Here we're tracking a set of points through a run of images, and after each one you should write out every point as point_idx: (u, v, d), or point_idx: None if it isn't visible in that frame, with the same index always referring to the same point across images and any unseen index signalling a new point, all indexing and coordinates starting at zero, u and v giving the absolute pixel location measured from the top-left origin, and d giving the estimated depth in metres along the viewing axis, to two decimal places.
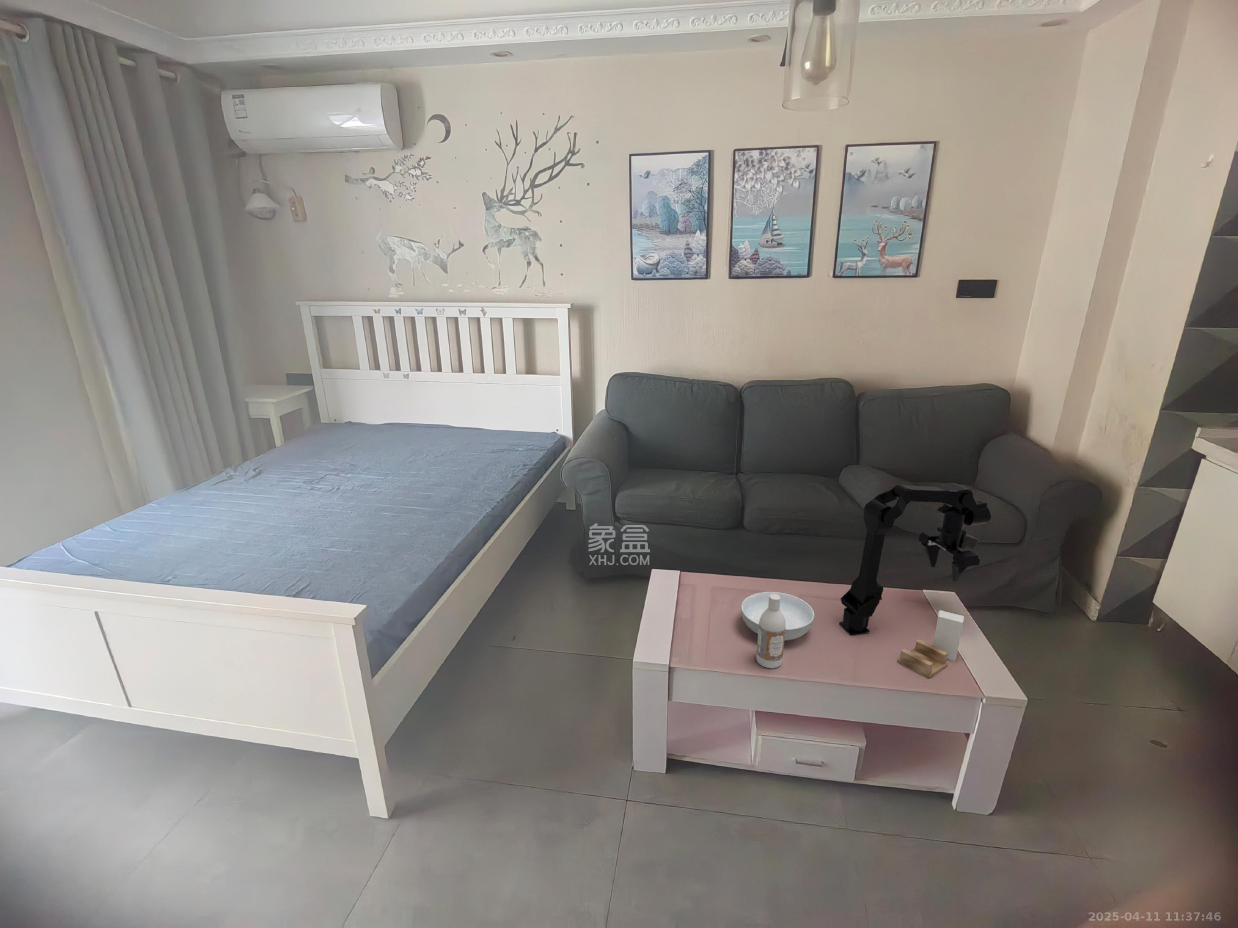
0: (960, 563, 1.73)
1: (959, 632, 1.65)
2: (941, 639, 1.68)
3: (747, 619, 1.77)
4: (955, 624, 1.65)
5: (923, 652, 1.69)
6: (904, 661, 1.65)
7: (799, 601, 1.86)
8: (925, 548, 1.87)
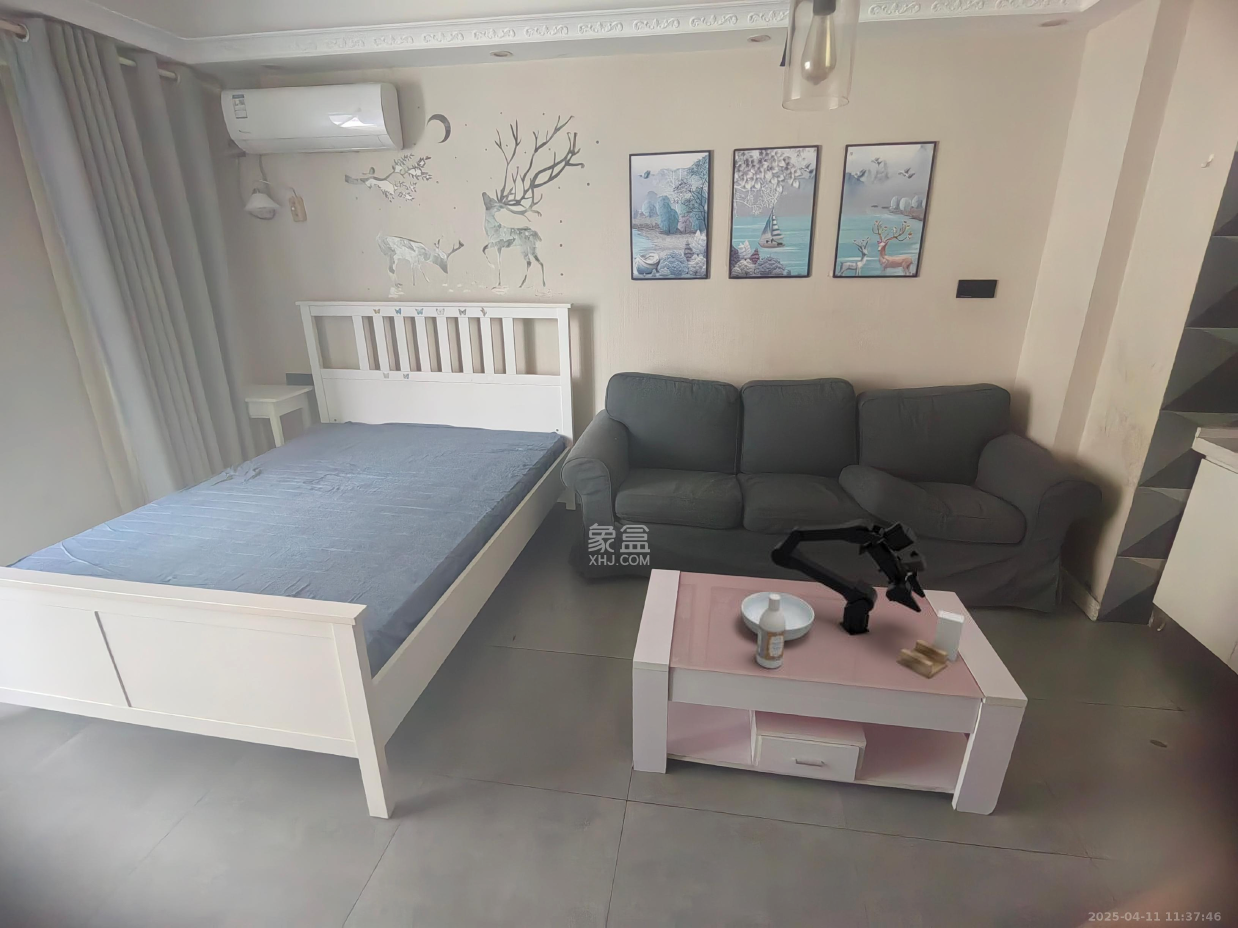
0: None
1: (959, 632, 1.65)
2: (941, 639, 1.68)
3: (747, 619, 1.77)
4: (955, 624, 1.65)
5: (923, 652, 1.69)
6: (904, 661, 1.65)
7: (799, 601, 1.86)
8: None
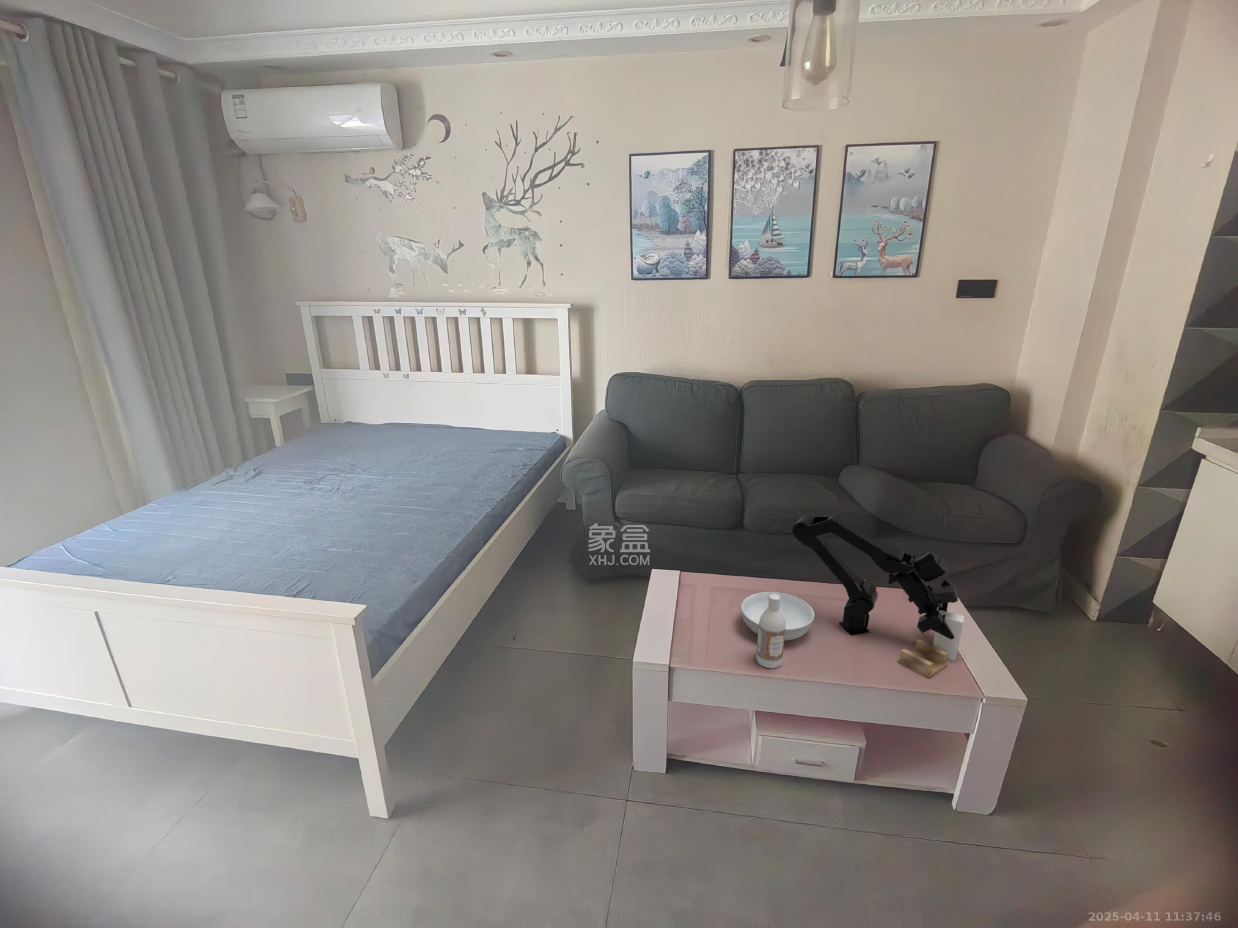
0: None
1: (959, 632, 1.65)
2: (942, 639, 1.68)
3: (747, 619, 1.77)
4: (955, 624, 1.65)
5: (923, 652, 1.69)
6: (904, 661, 1.65)
7: (799, 601, 1.86)
8: None
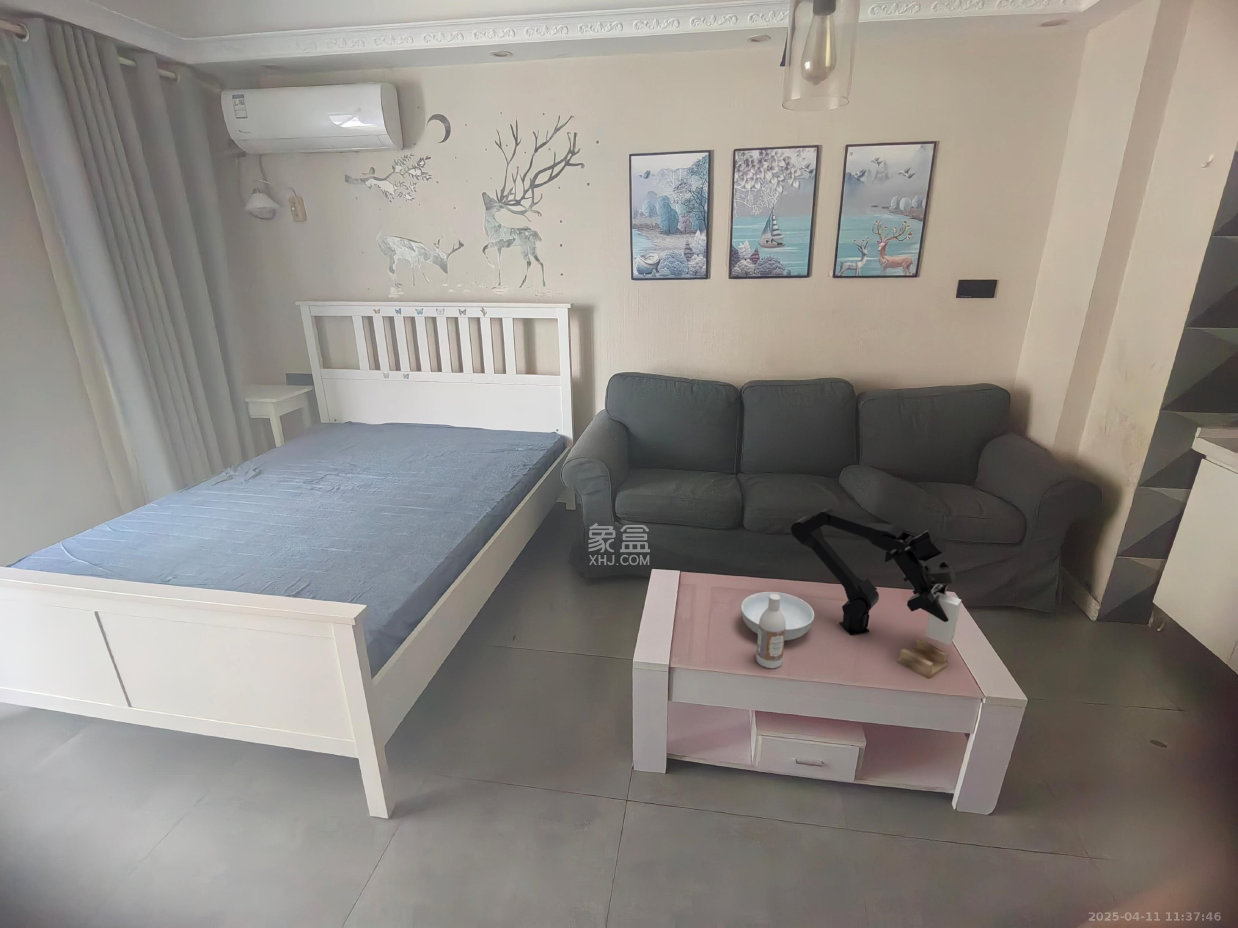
0: None
1: (953, 615, 1.61)
2: (936, 621, 1.64)
3: (747, 619, 1.77)
4: (950, 607, 1.61)
5: (923, 652, 1.69)
6: (904, 661, 1.65)
7: (799, 601, 1.86)
8: None
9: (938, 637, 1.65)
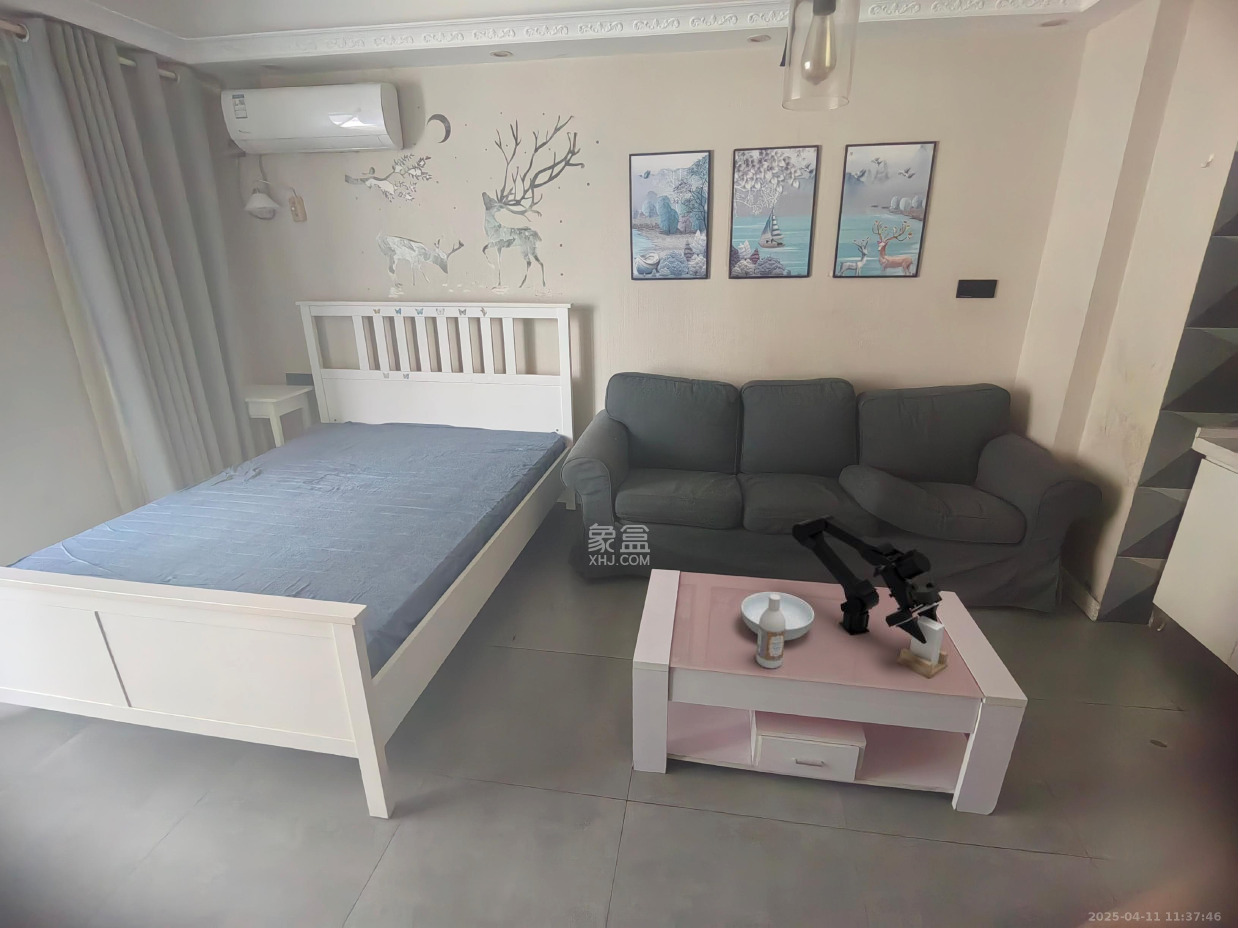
0: None
1: (933, 640, 1.60)
2: (918, 644, 1.64)
3: (747, 619, 1.77)
4: (930, 631, 1.61)
5: None
6: (904, 661, 1.65)
7: (799, 601, 1.86)
8: None
9: None
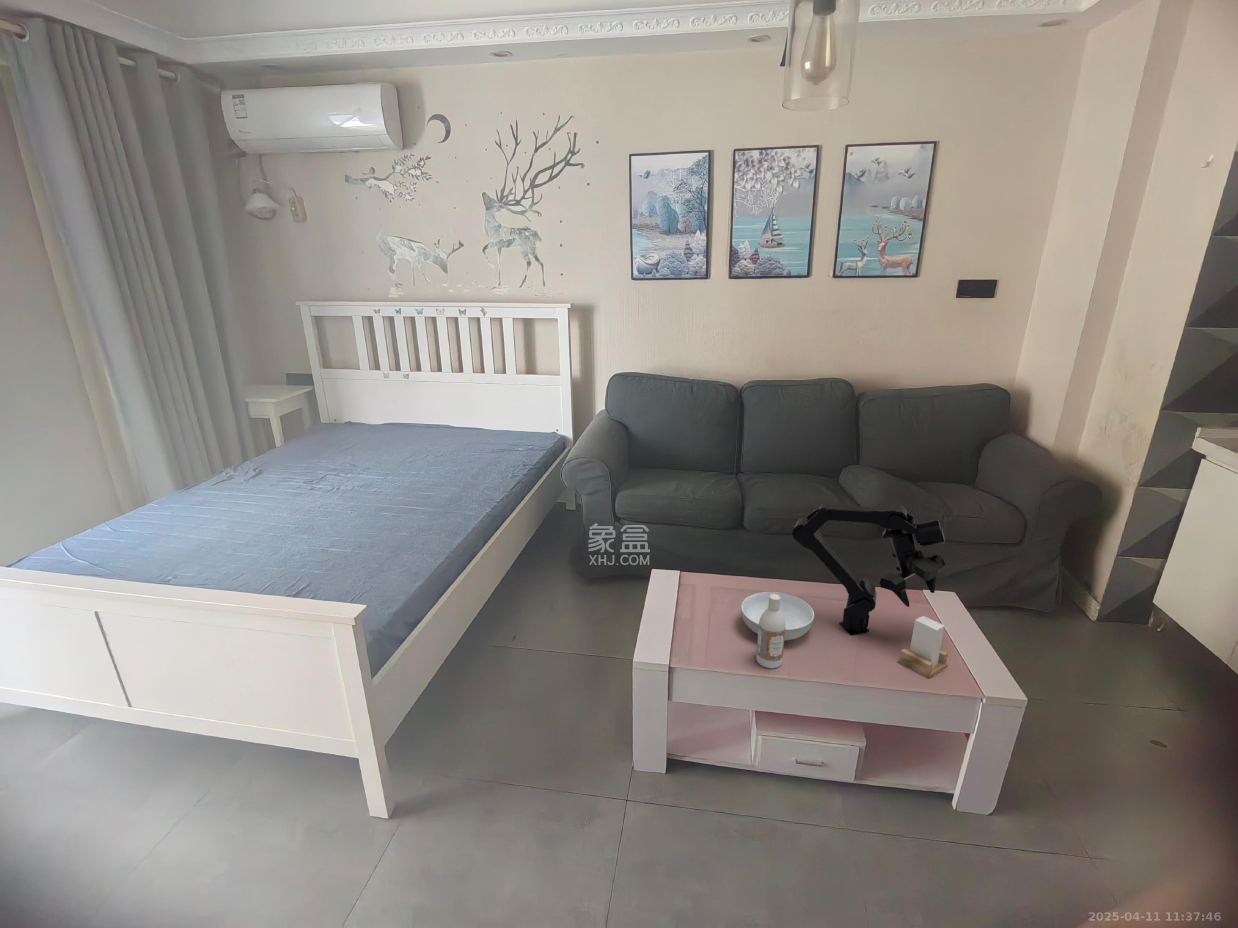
0: None
1: (933, 640, 1.60)
2: (918, 644, 1.64)
3: (747, 619, 1.77)
4: (930, 631, 1.61)
5: None
6: (904, 661, 1.65)
7: (799, 601, 1.86)
8: None
9: None
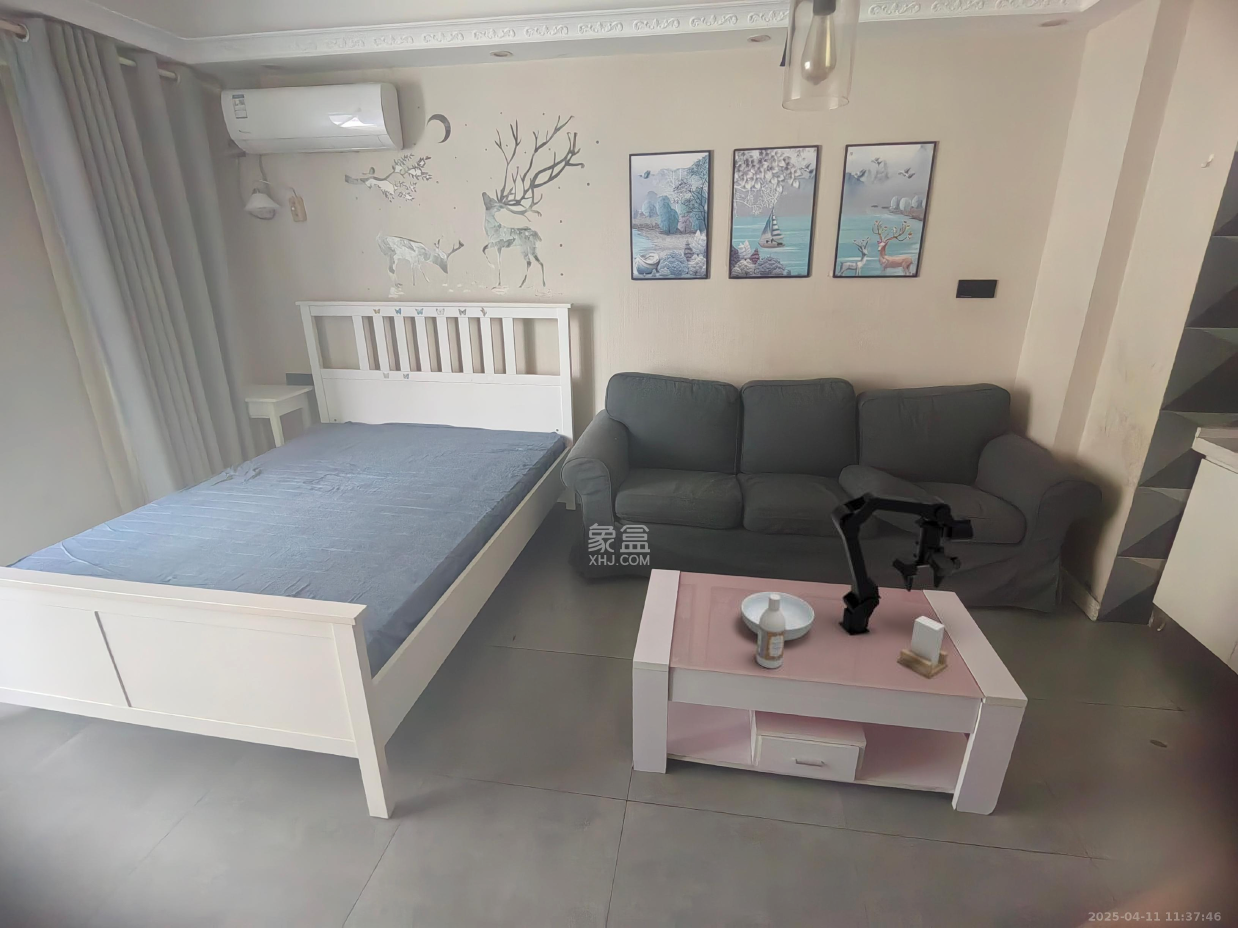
0: None
1: (933, 640, 1.60)
2: (918, 644, 1.64)
3: (747, 619, 1.77)
4: (930, 631, 1.61)
5: None
6: (904, 661, 1.65)
7: (799, 601, 1.86)
8: None
9: None
